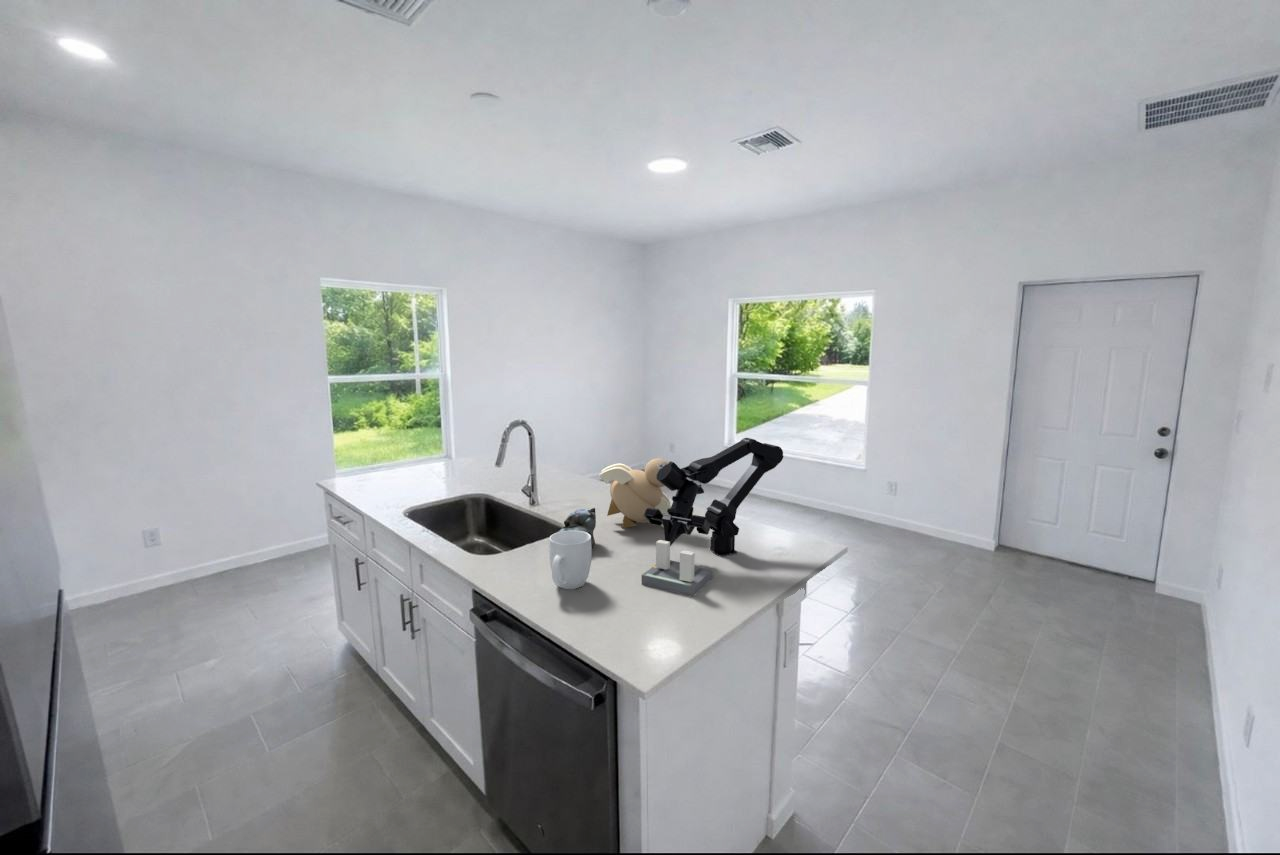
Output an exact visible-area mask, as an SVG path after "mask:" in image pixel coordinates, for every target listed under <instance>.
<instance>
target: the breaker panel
mask: <svg viewBox="0 0 1280 855" xmlns="http://www.w3.org/2000/svg"><path fill="white" fill-rule="evenodd" d="M712 579H714V568H709V567H704V566H700V565H695V564H694V580H693V581H692V582H688V581H683V580H680V561H676V560H672V559H670V568H668V569H667V570H665V569H661V568H656V564H655V565H654V566H652V567H651V568H649V569H648V570H646V571H645V572H644V573H642V574H641V585H645V586H649V587H651V588H652V587H653V588H656V589H661V590H664V591H668V592H673V593H678V594H682V595H685V594H686V595H685V596H689V595H690V597H693V596H694V595H695V594H696V595H697V594H698V593H699V592H700V591H701V590H702V589H703V588H704V587H705V586H706V585H708V583H710V582H711V581H712ZM696 595H695V596H696ZM695 596H694V597H695Z"/></svg>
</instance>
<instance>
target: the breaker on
mask: <svg viewBox="0 0 1280 855" xmlns="http://www.w3.org/2000/svg"><path fill="white" fill-rule="evenodd" d="M695 554H696V553H695V552H694V551H689V550H682V551H680V552H679V562H680V580H683V581H688V582H692V581H693V580H694V565H695Z"/></svg>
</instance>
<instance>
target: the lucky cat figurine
mask: <svg viewBox="0 0 1280 855" xmlns="http://www.w3.org/2000/svg"><path fill="white" fill-rule="evenodd" d="M596 516H597V515H596V508H595V507H592V508H591V509H587V508H579V509H576V510H575V511H574V512H571V513H570V514H568V516H567V517H566V519H564V521H563V524H564V526H563V527H561V529H560V530H558V532H561V531H569V530H576V531H584V532H587V533H589V534H590V535H591V545H592V548H591V549H594V547H595V544H596V540H595V537H594V531H595V529H596V525H597V521H596V519H597V517H596Z"/></svg>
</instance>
